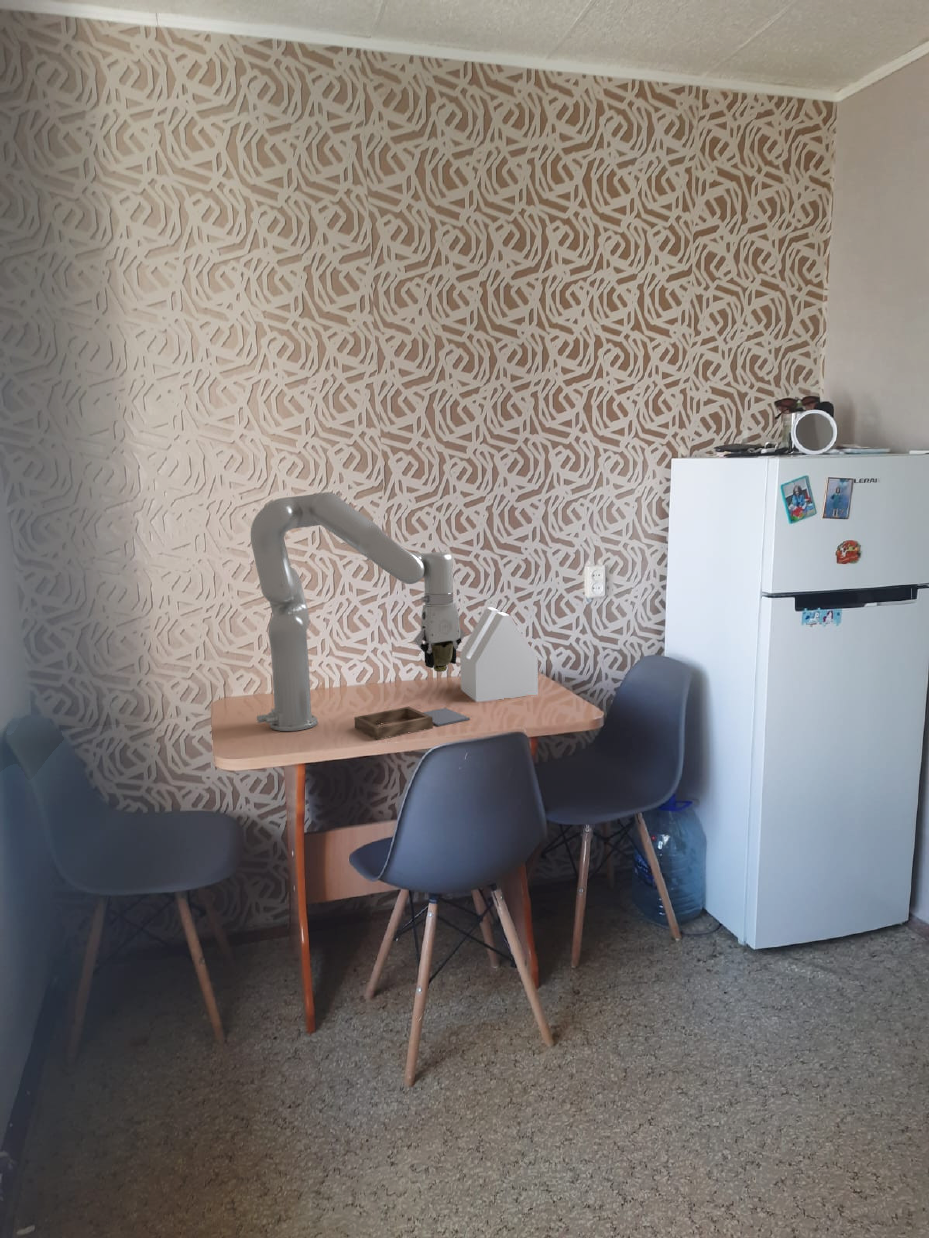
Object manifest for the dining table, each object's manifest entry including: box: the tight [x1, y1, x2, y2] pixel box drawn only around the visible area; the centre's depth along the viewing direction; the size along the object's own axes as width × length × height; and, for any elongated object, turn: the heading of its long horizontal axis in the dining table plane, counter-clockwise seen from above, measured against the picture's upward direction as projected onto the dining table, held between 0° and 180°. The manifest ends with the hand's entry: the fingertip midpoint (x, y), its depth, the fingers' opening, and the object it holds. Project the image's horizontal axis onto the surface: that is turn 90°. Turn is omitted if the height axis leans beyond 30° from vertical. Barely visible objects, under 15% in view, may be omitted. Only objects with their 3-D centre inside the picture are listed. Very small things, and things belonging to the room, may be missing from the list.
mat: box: [421, 707, 470, 728], centre depth 230 cm, size 10×12×1 cm
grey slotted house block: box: [459, 606, 539, 703], centre depth 253 cm, size 19×15×25 cm
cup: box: [427, 641, 453, 673], centre depth 227 cm, size 8×7×8 cm
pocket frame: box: [354, 706, 434, 740], centre depth 221 cm, size 16×12×3 cm
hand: (440, 664), depth 227 cm, fingers closed on cup, 6 cm apart
